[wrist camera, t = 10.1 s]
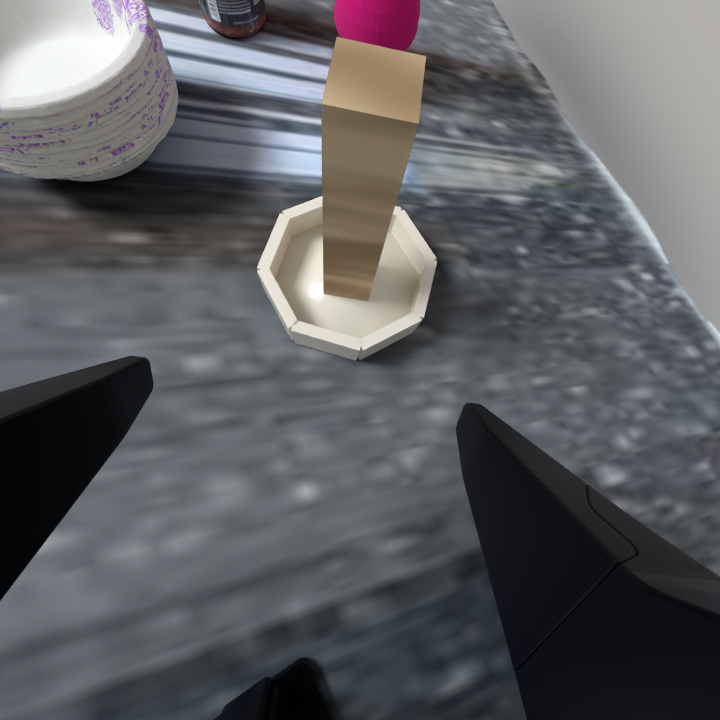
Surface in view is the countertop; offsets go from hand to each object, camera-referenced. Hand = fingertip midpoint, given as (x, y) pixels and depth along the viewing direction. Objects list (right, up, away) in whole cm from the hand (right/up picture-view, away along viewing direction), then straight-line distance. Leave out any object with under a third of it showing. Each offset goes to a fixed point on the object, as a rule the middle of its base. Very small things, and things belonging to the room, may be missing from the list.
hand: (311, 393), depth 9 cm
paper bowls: (-20, +19, +18) cm, 33 cm away
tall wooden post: (+1, +7, +16) cm, 17 cm away
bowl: (0, +7, +16) cm, 18 cm away
